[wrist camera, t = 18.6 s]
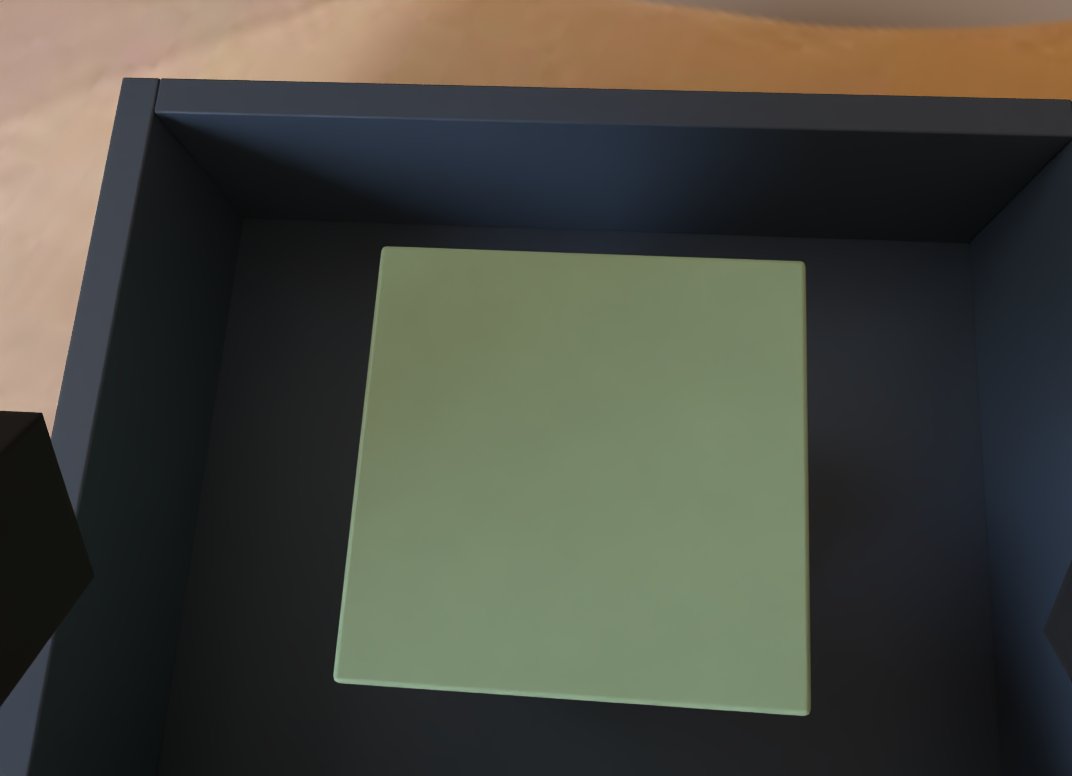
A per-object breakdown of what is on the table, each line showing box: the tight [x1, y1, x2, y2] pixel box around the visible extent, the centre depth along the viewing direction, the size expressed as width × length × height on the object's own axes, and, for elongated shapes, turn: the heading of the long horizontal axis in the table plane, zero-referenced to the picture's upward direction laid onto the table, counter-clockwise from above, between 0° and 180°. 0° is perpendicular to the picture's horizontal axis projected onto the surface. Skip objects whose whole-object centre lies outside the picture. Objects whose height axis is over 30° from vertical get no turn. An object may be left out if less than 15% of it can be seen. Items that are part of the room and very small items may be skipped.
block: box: [333, 246, 811, 716], centre depth 16 cm, size 6×6×10 cm
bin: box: [0, 78, 1072, 776], centre depth 19 cm, size 20×17×6 cm
